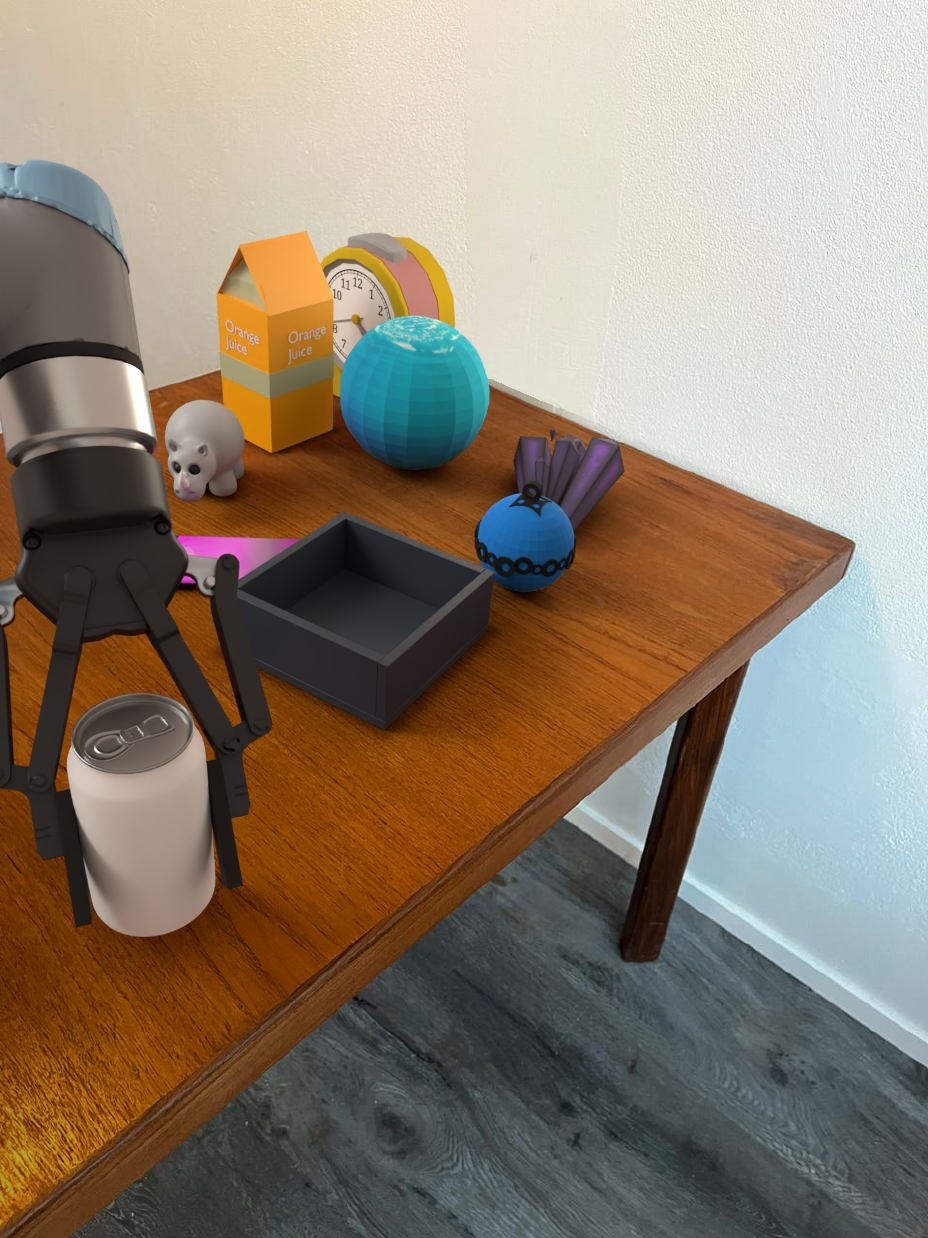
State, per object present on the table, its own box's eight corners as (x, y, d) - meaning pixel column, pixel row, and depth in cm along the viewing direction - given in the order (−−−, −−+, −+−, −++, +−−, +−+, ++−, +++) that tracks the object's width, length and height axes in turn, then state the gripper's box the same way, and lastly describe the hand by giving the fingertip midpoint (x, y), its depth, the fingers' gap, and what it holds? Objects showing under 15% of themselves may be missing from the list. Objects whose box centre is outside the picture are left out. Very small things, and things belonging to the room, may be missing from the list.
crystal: (607, 502, 85) (638, 399, 100) (479, 487, 88) (528, 389, 103) (602, 568, 90) (633, 460, 104) (482, 552, 92) (528, 449, 107)
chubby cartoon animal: (143, 525, 87) (132, 438, 82) (182, 464, 97) (175, 383, 92) (223, 533, 87) (217, 447, 82) (254, 472, 97) (251, 391, 92)
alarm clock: (307, 386, 115) (306, 223, 104) (357, 369, 120) (360, 213, 110) (399, 428, 108) (408, 259, 97) (448, 408, 113) (461, 246, 102)
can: (73, 880, 54) (39, 717, 47) (182, 829, 57) (165, 670, 50) (124, 964, 50) (95, 800, 43) (237, 903, 53) (228, 742, 46)
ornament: (581, 575, 87) (599, 475, 81) (547, 624, 80) (564, 519, 75) (493, 547, 89) (505, 448, 84) (453, 592, 83) (463, 489, 77)
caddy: (226, 652, 74) (221, 589, 71) (342, 569, 84) (343, 511, 81) (384, 730, 68) (387, 666, 65) (487, 631, 79) (495, 571, 76)
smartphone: (131, 541, 85) (129, 532, 84) (305, 542, 87) (305, 534, 86) (117, 588, 79) (115, 579, 79) (304, 589, 81) (304, 580, 81)
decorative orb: (313, 444, 103) (312, 303, 94) (433, 421, 110) (443, 287, 101) (383, 509, 93) (389, 358, 84) (510, 478, 101) (528, 337, 92)
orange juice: (223, 428, 104) (210, 234, 92) (286, 406, 110) (281, 221, 98) (272, 454, 100) (266, 255, 89) (334, 429, 106) (336, 240, 94)
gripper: (259, 468, 58) (332, 853, 56) (-109, 503, 51) (-44, 946, 49) (280, 423, 51) (364, 861, 49) (-143, 457, 44) (-69, 971, 42)
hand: (160, 902), depth 49 cm, fingers closed on can, 6 cm apart
